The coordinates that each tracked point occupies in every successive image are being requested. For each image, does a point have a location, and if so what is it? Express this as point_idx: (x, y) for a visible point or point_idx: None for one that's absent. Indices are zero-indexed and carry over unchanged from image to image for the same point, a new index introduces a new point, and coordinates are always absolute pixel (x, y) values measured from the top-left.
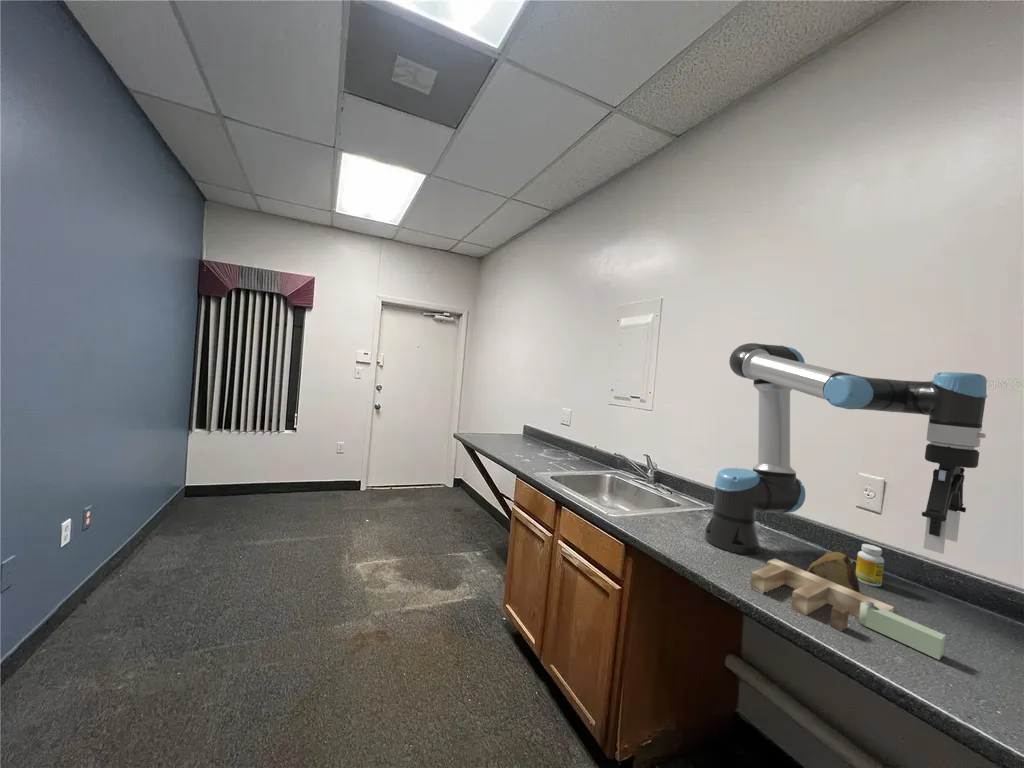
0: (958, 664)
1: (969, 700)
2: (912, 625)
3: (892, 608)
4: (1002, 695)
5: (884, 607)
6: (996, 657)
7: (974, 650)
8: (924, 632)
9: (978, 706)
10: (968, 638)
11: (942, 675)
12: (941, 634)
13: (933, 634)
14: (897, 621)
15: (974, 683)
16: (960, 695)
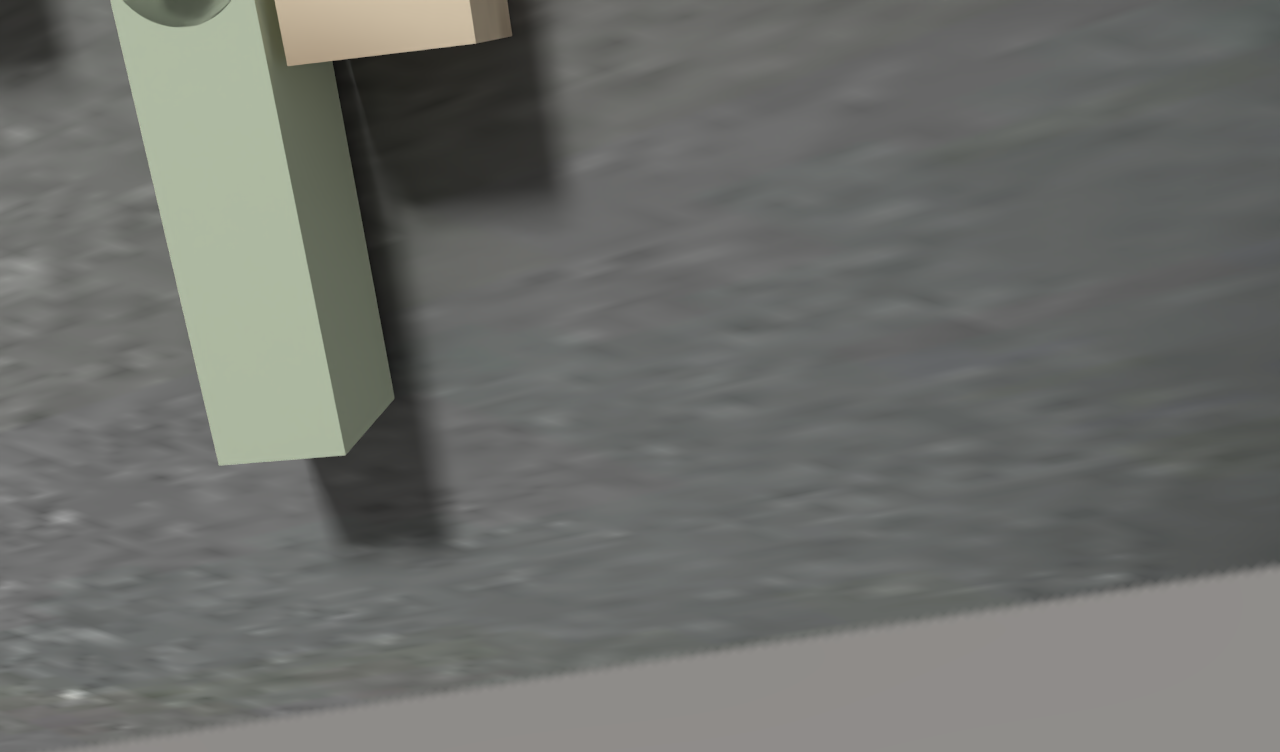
0: (399, 470)
1: (13, 606)
2: (212, 284)
3: (429, 48)
4: (286, 672)
5: (349, 10)
6: (828, 554)
7: (775, 461)
8: (198, 368)
9: (6, 640)
10: (972, 387)
11: (122, 466)
12: (317, 438)
13: (241, 412)
14: (159, 194)
15: (248, 574)
16: (9, 572)
